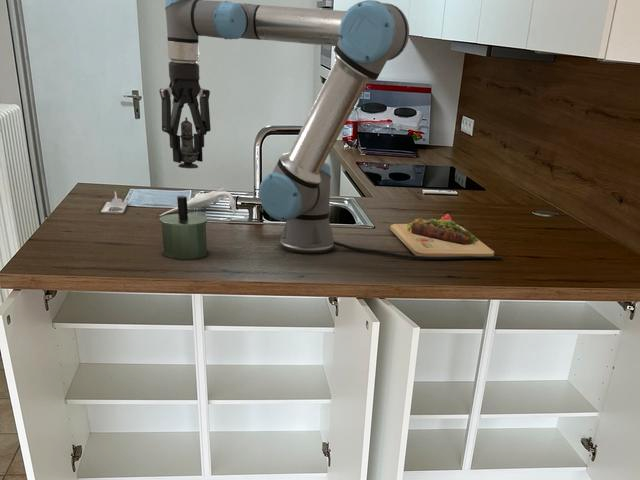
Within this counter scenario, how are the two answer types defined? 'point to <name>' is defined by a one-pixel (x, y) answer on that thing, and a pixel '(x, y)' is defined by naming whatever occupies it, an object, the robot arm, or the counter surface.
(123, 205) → the car cutout
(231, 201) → the dinosaur
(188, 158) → the dark grey tall piece
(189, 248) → the pot
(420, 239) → the cutting board
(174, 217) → the pot lid
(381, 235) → the counter surface
